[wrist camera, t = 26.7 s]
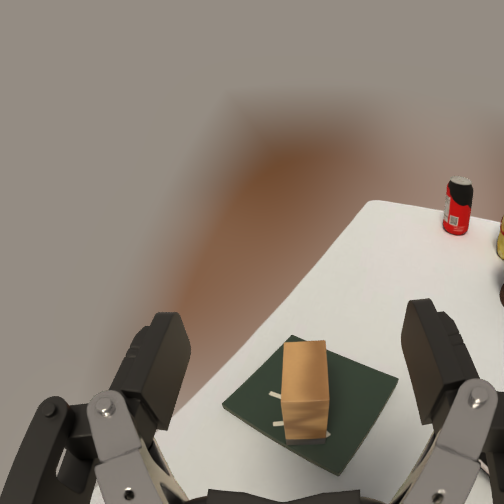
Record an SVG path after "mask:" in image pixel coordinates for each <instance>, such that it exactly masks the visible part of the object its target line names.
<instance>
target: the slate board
mask: <svg viewBox="0 0 504 504" xmlns="http://www.w3.org/2000/svg"><path fill="white" fill-rule="evenodd" d="M303 341H305V340H303V339H301V338H298V337H296V336H294V335H291V336H290V337H289V338H288V339H287V340H286V341H285V342H303ZM283 352H284V344H283V345H282V346H281V347H280V348H279V349H278V350H277V351H276V352H275V353H274V354H273V355H272V356H271V357H270V358H269V359H268V360H267V361H266V362H265V363H264V364H263V365H262V366H261V367H260V368H259V369H258V370H257V371H256V372H255V373H254V374H253V375H252V376H251V377H250V378H249V379H248V380H246V381H245V382H244V383H243V384H242V385H241V386H240V387H239V388H238V389H237V390H236V391H235V392H234V393H233V394H232V395H231V396H230V397H229V398H228V399H226V400H225V401H224V402H223V403H222V406H223V408H224V409H226V410H227V411H229V412H230V413H231V414H233V415H234V416H236V417H237V418H239V419H240V420H242V421H243V422H245V423H246V424H248V425H250V426H251V427H253V428H254V429H256V430H257V431H259V432H261V433H262V434H264V435H265V436H267V437H269V438H270V439H272V440H273V441H275V442H277V443H278V444H280V445H282V446H283V447H285V448H287V449H289V450H290V451H292V452H294V453H296V454H297V455H299V456H301V457H303V458H304V459H306V460H308V461H310V462H312V463H314V464H315V465H317V466H319V467H321V468H323V469H325V470H327V471H329V472H331V473H333V474H335V475H337V476H339V475H340V474H341V473H342V471H343V470H344V468H345V467H346V466H347V464H348V463H349V461H350V460H351V459H352V457H353V456H354V454H355V453H356V451H357V450H358V448H359V447H360V445H361V444H362V442H363V441H364V439H365V438H366V436H367V435H368V433H369V431H370V430H371V428H372V427H373V425H374V423H375V422H376V420H377V418H378V417H379V415H380V413H381V412H382V410H383V408H384V406H385V405H386V403H387V401H388V399H389V398H390V396H391V394H392V392H393V390H394V389H395V387H396V385H397V383H398V380H399V379H398V378H396V377H393V376H390V375H388V374H385V373H383V372H380V371H378V370H375V369H373V368H370V367H367V366H365V365H363V364H360V363H358V362H355V361H353V360H350V359H348V358H345V357H343V356H341V355H338V354H336V353H333V352H331V351H329V350H326V354H327V367H328V382H329V399H330V400H329V412H328V422H327V432H326V441H325V444H315V445H286V437H285V430H284V422H283V415H282V408H281V388H282V371H283Z"/></svg>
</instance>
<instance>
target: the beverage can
mask: <svg viewBox="0 0 504 504" xmlns="http://www.w3.org/2000/svg"><path fill="white" fill-rule="evenodd" d="M471 183H472V182H471V180H469V179H467V178H464V177H458V176H454V177H451V178H450V182H449V183H448V185H447V193H446V202H445V211H444V219H443V226H444V228H445V229H446V231H447V232H449V233H451V234H454V235H461V234H463V233H465V232H466V231H467V230H468V225H469V219H470V213H471V206H472V198H473V188H472V185H471Z"/></svg>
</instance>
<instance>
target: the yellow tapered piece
mask: <svg viewBox="0 0 504 504" xmlns="http://www.w3.org/2000/svg"><path fill="white" fill-rule="evenodd" d="M501 222H502V224H501V225H500V233H499V236H498V241H497V251H498V255H499V256H500V257H501V259H502V260H504V216H503V217H502V220H501Z"/></svg>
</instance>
